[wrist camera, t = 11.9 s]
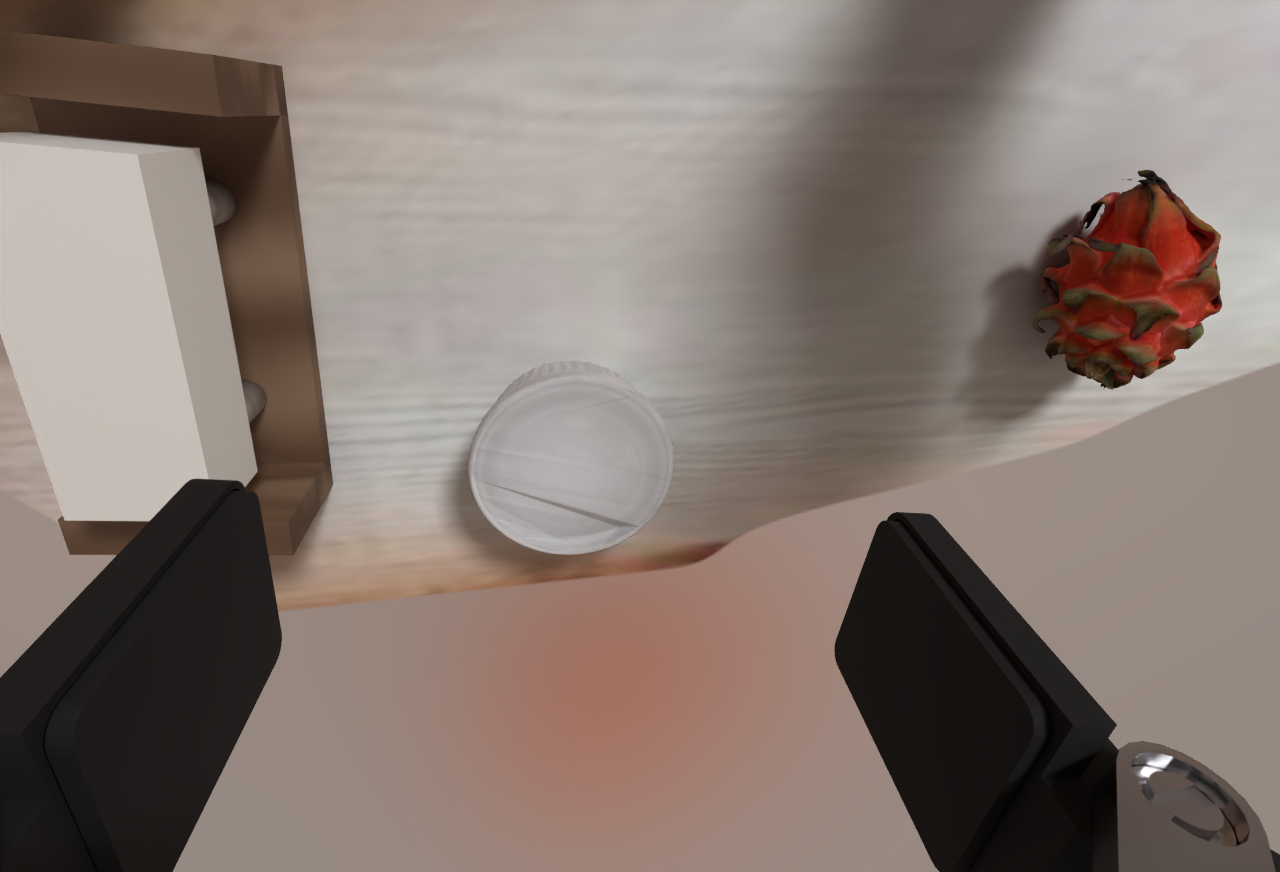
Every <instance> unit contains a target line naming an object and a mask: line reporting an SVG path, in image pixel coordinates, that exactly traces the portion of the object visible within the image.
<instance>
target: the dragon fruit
mask: <svg viewBox="0 0 1280 872" xmlns="http://www.w3.org/2000/svg"><path fill="white" fill-rule="evenodd" d="M1138 173H1139V174H1138V175H1140V176H1141V177H1145V178H1147V179H1146V180H1139V181H1138V182H1140V183H1141V184H1139V185H1137V186H1135V187H1134V188H1133V189H1131V190H1128V191H1126V192H1123V193H1122V194H1120V193H1118V192H1112V193H1109V194H1107V195H1105V196H1104V197H1103V198H1101V199H1100V200H1099V201H1097V202H1096V203H1094V204H1093V205H1092V206H1091V211H1089V212H1087V213H1086V215H1085V216H1084V219H1083V221H1082V222H1081V221H1080V222H1081V223H1080V229H1079V233H1078V235H1079V234H1080V233H1081V231H1082V229H1083V226H1084V224H1085V222H1087V226H1086V227H1085V228H1086V229H1087V228H1088V227H1089V226H1090V224H1091V223H1092V221H1093V220H1094V218H1095V216H1096V214H1097V212H1098V211H1099V209H1100V207H1101V205H1102V204H1105V208H1104V213H1103V215H1102V217H1101V218H1100V220H1099V222H1098V224H1097V225H1096V227H1095V228H1094V230H1093V231H1092V232H1091V234H1090V235H1089V236H1088V237H1087V238H1086V239H1083V238H1082V237H1079V236H1076V235H1065V236H1063V237H1062V238H1058V239H1051V240H1050V241H1049V246H1048V252H1047V256H1048V257H1051V256H1053V255H1055V254H1057V253H1060V252H1061V251H1063V250H1064V249H1065V248H1067V250H1068V253H1069V256H1070V263H1069V264H1068V265H1066V266H1064V267H1061V268H1055V267H1048V268H1046V269H1045V270H1044V273H1043V275H1042V277H1041V279H1040V283H1041V285H1042V292H1043V294H1044V296H1046V297H1049V299H1050V301H1051V303H1052V304H1051V306H1049V307H1046V308H1044V309H1042V310H1041V311H1039V312H1038V313H1037V315H1036V316H1035V318H1034V321H1033V328H1034V329H1036V330H1037V331H1039V332H1042V333H1045V331H1044V330H1043V329H1042V328H1040V327H1038V322H1039V321H1040V320H1042V319H1048V318H1051V319H1053V320H1055V321H1056V322H1057V323H1058V324H1059V325H1060V329H1059V330H1058V331H1057V332H1056V333H1055V334H1054V335H1053V336H1052V337H1051V338H1050V339H1049V341H1048V344H1047V346H1046V350H1045V352H1046V353H1047V355H1048V356H1049V357H1050V359H1051V358H1052V356H1054V355H1057V354H1066V358H1065V361H1066V363H1067V368H1068V370H1070V371H1072V372H1073V373H1075V374H1079V375H1081V376H1086V377H1087V378H1088V379H1091V378H1092V379H1094V380H1095V381H1097V382H1099V383H1102V384H1101V387H1102V386H1104V388H1105V387H1107V388H1109V389H1114V388H1118V387H1120V386H1124V385H1126V384H1128V383H1130V382H1131V380H1132V377H1133V375H1135V376H1136V377H1138V378H1141V379H1143V378H1145V377H1147V376H1149V375H1151V374H1152V373H1153V372H1154V371H1155V370H1157V369H1160V368H1162V367H1165V366H1166V365H1168V364H1170V363H1172V362H1173V361H1174V360H1175V359H1176V358H1175V355H1174V354H1173V353H1174V351H1175V350H1178V349H1188V348H1190V347H1191V346H1192V345H1193V344H1194V343H1195V342H1196V341H1197V340H1198V339H1199V338H1200V337H1201V336H1202V335H1203V333H1204V329H1203V326H1202V323H1200V322H1201V321H1203V320H1204V319H1205V318H1207V317H1208V316H1210V315H1213V314H1216V313H1217V312H1219V311H1220V309H1221V307H1222V301H1221V297H1220V293H1219V291H1220V281H1219V276H1218V273H1217V265H1216V258H1217V254H1218V249H1219V243H1220V239H1221V235H1220V234H1219V233H1218V232H1217V231H1215V230H1214V229H1213V228H1212V227H1211V226H1210V225H1208V224H1207V223H1205V222H1203V221H1202V220H1200V219H1199V218H1198V217H1196V216H1195V215H1194V214H1193V213H1192V212H1191V211H1190V210H1189V209H1188V207H1187V206H1186V205H1185V204H1184V202H1183V200H1181V199H1180V198H1179V197H1177V196H1176V195H1175V194H1174V193H1173V192H1172V191H1171V189H1170V188H1169V186H1168V184H1167V183H1166V182H1165V181H1164V180H1163V179H1162V178H1160V177H1158V176H1157V175H1156V174H1155V173H1154V171H1151V170H1143V171H1138ZM1124 180H1125V179H1124ZM1127 180H1131V179H1127ZM1050 279H1052V280H1054V281H1055V282H1056V283H1058V284H1059V297H1058V296H1057V293H1056V291H1055V290H1054V289H1053V287H1052V286H1051V284H1050V283H1049V282H1050ZM1104 388H1103V389H1104Z"/></svg>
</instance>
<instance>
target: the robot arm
mask: <svg viewBox="0 0 1280 872" xmlns="http://www.w3.org/2000/svg"><path fill="white" fill-rule="evenodd" d="M281 641H282V634H281V627H280V621H279V615H278V609H277V603H276V597H275V591H274V585H273V579H272V574H271V568H270V562H269V556H268V550H267V544H266V538H265V532H264V526H263V520H262V514H261V508H260V502H259V499H258V496H257V494H256V493H255V492H249V491H246V489H245V487H244V485H243V484H242V483H241V482H240V481H236V480H215V479H191V480H189V481H188V482H187V483H185V484H184V485H183V487H182V488H181V489H180V490H179V491H178V492H177V493H176V494H175V495H174V496H173V497H172V498H171V499H170V500H169V501H168V502H167V503H166V504H165V505H164V506H163V508H162V509H161V510H160V511H159V512H158V513H157V514H156V515H155V516H154V517H153V518H152V519H151V520H150V521H149V522H148V523H147V524H146V525H145V526H144V528H143V529H142V530H141V531H140V532H139V533H138V534H137V535H136V536H135V537H134V538H133V539H132V540H131V541H130V542H129V543H128V544H127V545H126V546H125V548H124V549H123V550H122V551H121V552H120V553H119V554H118V555H117V556H116V557H115V558H114V559H113V560H112V561H111V562H110V563H109V565H107V567H106V568H105V569H104V570H103V571H102V572H101V573H100V574H99V575H98V576H97V577H96V578H95V579H94V580H93V581H92V582H91V583H90V584H89V585H88V586H87V587H86V588H85V589H84V590H83V592H82V593H81V594H80V595H79V596H78V597H77V598H76V599H75V600H74V601H73V602H72V603H71V604H70V605H69V606H68V607H67V608H66V609H65V610H64V611H63V613H62V614H61V615H60V616H59V617H58V618H57V619H56V620H55V621H54V622H53V623H52V624H51V625H50V626H49V627H48V628H47V629H46V630H45V631H44V633H43V634H42V635H41V636H40V637H39V638H38V639H37V640H36V641H35V642H34V643H33V644H32V645H31V646H30V647H29V648H28V649H27V650H26V651H25V652H24V654H23V655H22V656H21V657H20V658H19V659H18V660H17V661H16V662H15V663H14V664H13V665H12V666H11V667H10V668H9V669H8V670H7V671H6V673H4V675H3V676H2V677H1V678H0V872H173V869H174V867H175V865H176V863H177V861H178V859H179V857H180V855H181V853H182V851H183V849H184V847H185V845H186V843H187V841H188V839H189V837H190V835H191V833H192V831H193V829H194V827H195V825H196V823H197V821H198V819H199V817H200V815H201V813H202V811H203V809H204V807H205V805H206V803H207V801H208V799H209V797H210V795H211V793H212V791H213V789H214V787H215V785H216V782H217V781H218V778H219V777H220V775H221V773H222V771H223V768H224V767H225V764H226V762H227V760H228V758H229V756H230V754H231V752H232V750H233V748H234V746H235V744H236V742H237V740H238V738H239V736H240V734H241V732H242V730H243V728H244V726H245V724H246V722H247V720H248V718H249V716H250V714H251V712H252V710H253V708H254V706H255V704H256V702H257V699H258V698H259V696H260V694H261V692H262V690H263V688H264V686H265V684H266V682H267V680H268V678H269V676H270V674H271V672H272V669H273V668H274V666H275V664H276V661H277V659H278V656H279V653H280V649H281ZM835 658H836V662H837V665H838V667H839V670H840V672H841V674H842V676H843V678H844V680H845V682H846V684H847V686H848V688H849V690H850V692H851V694H852V696H853V699H854V701H855V703H856V705H857V707H858V709H859V711H860V713H861V715H862V717H863V719H864V721H865V723H866V725H867V728H868V729H869V732H870V734H871V736H872V738H873V740H874V742H875V744H876V746H877V748H878V750H879V752H880V755H881V757H882V758H883V761H884V763H885V765H886V767H887V769H888V771H889V773H890V775H891V777H892V779H893V782H894V784H895V786H896V788H897V790H898V792H899V794H900V796H901V798H902V800H903V802H904V804H905V806H906V809H907V811H908V813H909V814H910V817H911V819H912V821H913V823H914V825H915V827H916V829H917V831H918V833H919V835H920V837H921V839H922V842H923V844H924V846H925V848H926V850H927V852H928V854H929V856H930V858H931V860H932V862H933V864H934V865H935V867H936V868H937V869H938V870H939V872H1280V855H1279V854H1278V853H1276V852H1274V851H1272V850H1270V847H1269V842H1268V838H1267V835H1266V832H1265V830H1264V828H1263V826H1262V823H1261V822H1260V819H1259V817H1258V816H1257V815H1256V813H1255V812H1254V811H1253V809H1252V808H1251V806H1250V805H1249V804H1248V803H1247V801H1246V800H1245V799H1244V798H1243V797H1242V796H1241V795H1240V794H1239V793H1238V792H1237V791H1236V790H1235V789H1234V788H1233V787H1232V786H1231V785H1230V784H1229V783H1228V782H1227V781H1225V780H1224V779H1223V778H1221V777H1220V776H1219V775H1217V774H1216V773H1215V772H1213V771H1212V770H1211V769H1209V768H1208V767H1206V766H1205V765H1203V764H1202V763H1200V762H1198V761H1196V760H1194V759H1193V758H1191V757H1189V756H1187V755H1186V754H1184V753H1182V752H1179V751H1177V750H1174V749H1171V748H1169V747H1166V746H1164V745H1161V744H1156V743H1151V742H1145V741H1139V742H1130V743H1127V744H1126V745H1125V746H1123V747H1122V748H1120V749H1119V750H1118V749H1117V748H1116V747H1115V746H1114V744H1113V743H1112V742H1111V741H1110V740H1109V739H1108V737H1109V736H1110V734H1111V733H1112V731H1113V730H1114V729H1115V727H1116V726H1117V725H1116V723H1115V722H1114V721H1113V720H1112V719H1111V718H1110V717H1109V715H1108V714H1107V713H1106V712H1105V711H1104V710H1103V709H1102V708H1101V706H1100V705H1099V704H1098V703H1097V702H1096V701H1095V699H1094V698H1093V697H1092V696H1091V695H1090V694H1089V693H1088V691H1087V690H1086V689H1085V688H1084V687H1083V686H1082V685H1081V683H1080V682H1079V681H1078V680H1077V679H1076V678H1075V677H1074V675H1072V673H1071V672H1070V671H1069V670H1068V669H1067V668H1066V666H1065V665H1064V664H1063V663H1062V662H1061V661H1060V660H1059V659H1058V657H1057V656H1056V655H1055V654H1054V653H1053V652H1052V651H1051V649H1050V648H1049V647H1048V646H1047V645H1046V644H1045V642H1044V641H1043V640H1042V639H1041V638H1040V637H1039V636H1038V635H1037V634H1036V632H1035V631H1034V630H1033V629H1032V628H1031V626H1030V625H1029V624H1028V623H1027V622H1026V621H1025V620H1024V618H1022V616H1021V615H1020V614H1019V613H1018V612H1017V611H1016V609H1015V608H1014V607H1013V606H1012V605H1011V604H1010V603H1009V601H1008V600H1007V599H1006V598H1005V597H1004V596H1003V595H1002V593H1001V592H1000V591H999V590H998V589H997V588H996V587H995V585H994V584H993V583H992V582H991V581H990V580H989V579H988V577H987V576H986V575H985V574H984V573H983V572H982V571H981V569H980V568H979V567H978V566H977V565H976V564H975V563H974V561H973V560H972V559H971V558H970V557H969V556H968V555H967V553H966V552H965V551H964V550H963V549H962V548H961V547H960V545H959V544H958V543H957V542H956V541H955V540H954V539H953V537H952V536H951V535H950V534H949V533H948V532H947V531H946V530H945V528H944V527H943V526H942V525H941V524H940V523H939V521H938V520H937V519H936V518H935V517H933V516H932V515H930V514H922V513H900V512H896V513H893V514H891V515H890V516H889V517H888V519H887V521H882V522H881V523H880V524H879V525H878V527H877V529H876V532H875V534H874V537H873V540H872V542H871V545H870V548H869V551H868V553H867V556H866V559H865V562H864V565H863V567H862V570H861V573H860V575H859V578H858V581H857V584H856V587H855V589H854V592H853V595H852V598H851V600H850V603H849V606H848V609H847V611H846V614H845V617H844V620H843V623H842V625H841V628H840V631H839V633H838V636H837V639H836V642H835Z"/></svg>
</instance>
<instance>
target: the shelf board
mask: <svg viewBox="0 0 1280 872" xmlns="http://www.w3.org/2000/svg"><path fill="white" fill-rule="evenodd" d="M0 334H1V337H2V340H3V343H4V346H5V349H6V352H7V355H8V358H9V360H10V363H11V366H12V369H13V372H14V375H15V378H16V381H17V384H18V387H19V390H20V392H21V395H22V398H23V401H24V404H25V407H26V410H27V413H28V416H29V419H30V421H31V424H32V427H33V430H34V433H35V436H36V439H37V442H38V445H39V448H40V451H41V453H42V456H43V459H44V462H45V465H46V468H47V471H48V474H49V477H50V480H51V483H52V485H53V488H54V491H55V494H56V497H57V500H58V503H59V506H60V509H61V512H62V515H63V517H64V520H65V521H150V520H151V519H152V518H153V517H154V516H155V515H156V514H157V513H158V512H159V511H160V510H161V509H162V508H163V506H164V505H165V504H166V503H167V502H168V501H169V500H170V499H171V498H172V497H173V496H174V495H175V494H176V493H177V492H178V491H179V490H180V489H181V488H182V487H183V485H184V484H185V483H187V482H188V481H189V480H191V479H215V480H236V481H240V482H241V483H242V484H243V485H244V487H246V486H247V484H248V483H249V482H250V481H251V479H252V478H253V477H254V476H255V474H256V473H257V472H258V470H257V465H256V459H255V454H254V448H253V443H252V437H251V432H250V426H249V421H248V415H247V410H246V404H245V398H244V393H243V387H242V382H241V376H240V371H239V365H238V360H237V354H236V349H235V343H234V337H233V332H232V326H231V321H230V315H229V310H228V304H227V299H226V293H225V288H224V282H223V276H222V271H221V265H220V260H219V254H218V249H217V243H216V238H215V232H214V227H213V221H212V215H211V210H210V204H209V199H208V193H207V188H206V182H205V177H204V171H203V166H202V160H201V155H200V149H199V148H197V147H187V146H176V145H166V144H156V143H145V142H135V141H124V140H114V139H103V138H93V137H83V136H72V135H62V134H51V133H41V132H31V131H26V132H3V133H0Z"/></svg>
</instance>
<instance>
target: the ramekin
mask: <svg viewBox="0 0 1280 872" xmlns="http://www.w3.org/2000/svg"><path fill="white" fill-rule="evenodd" d="M673 469H674V453H673V446H672V441H671V437H670V434H669V431H668V429H667V426H666V424H665V422H664V420H663V418H662V416H661V415H660V413H659V412H658V410H657V409H656V408H655V406H654V405H653V404H652V403H651V402H650V401H649V399H648V398H646V397H645V396H644V395H643V394H642V393H641V392H639V391H638V390H637V389H635V388H634V387H633V386H632V385H630V384H629V383H628V381H627V380H625V379H624V378H622V377H620V376H619V375H618V374H617V373H615V372H612V371H610V370H609V369H607V368H604V367H601V366H600V365H597V364H592V363H590V362H580V361H562V362H553V363H550V364H545V365H542V366H541V367H538V368H534V369H532V370H531V371H529V372H528V373H525V374H523V375H522V376H521V377H520V378H518V379H516V380H515V381H514V382H513V383H512V384H511V385H509V386H508V387H507V388H506V390H505V391H504V392H503V394H502V395H501V396H500V397H499V399H498V401H497V402H496V404H495V405H494V406H493V407H492V408H491V409H490V410H489V412H488V413H487V414H486V416H485V417H484V418H483V420H482V422H481V423H480V425H479V427H478V429H477V431H476V434H475V436H474V439H473V442H472V446H471V450H470V455H469V461H468V476H469V483H470V488H471V491H472V494H473V497H474V500H475V502H476V504H477V506H478V508H479V509H480V511H481V513H482V514H483V515H484V517H485V518H486V519H487V520H488V522H489V523H490V524H491V525H492V526H493V527H494V528H495V529H497V530H498V531H499V532H500V533H502V534H503V535H504V536H506V537H507V538H509V539H510V540H512V541H514V542H516V543H518V544H520V545H522V546H524V547H527V548H530V549H532V550H536V551H539V552H544V553H550V554H557V555H579V554H586V553H591V552H596V551H599V550H603V549H606V548H609V547H612V546H614V545H617V544H619V543H621V542H623V541H624V540H626V539H628V538H629V537H631V536H632V535H634V534H635V533H636V532H638V531H639V530H640V529H641V528H643V527H644V526H645V525H646V524H647V523H648V522H649V521H650V520H651V519H652V517H653V516H654V515H655V514H656V512H657V511H658V510H659V508H660V507H661V505H662V504H663V502H664V500H665V498H666V496H667V494H668V491H669V488H670V485H671V481H672V477H673Z"/></svg>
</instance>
